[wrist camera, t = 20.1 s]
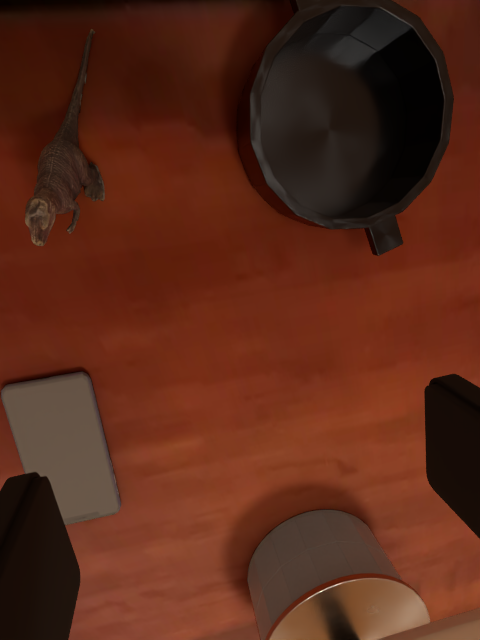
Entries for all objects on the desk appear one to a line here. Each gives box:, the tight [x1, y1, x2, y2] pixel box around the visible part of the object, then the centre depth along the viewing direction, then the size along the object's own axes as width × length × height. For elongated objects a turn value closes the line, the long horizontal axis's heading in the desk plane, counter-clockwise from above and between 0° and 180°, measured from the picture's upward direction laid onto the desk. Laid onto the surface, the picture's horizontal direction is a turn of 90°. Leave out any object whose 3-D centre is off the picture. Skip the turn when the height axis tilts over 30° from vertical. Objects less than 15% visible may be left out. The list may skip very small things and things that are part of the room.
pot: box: [247, 510, 403, 640], centre depth 44 cm, size 16×16×9 cm
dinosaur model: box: [25, 29, 104, 246], centre depth 27 cm, size 4×12×15 cm
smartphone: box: [1, 371, 121, 525], centre depth 39 cm, size 8×1×15 cm
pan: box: [237, 0, 454, 256], centre depth 33 cm, size 16×21×6 cm
